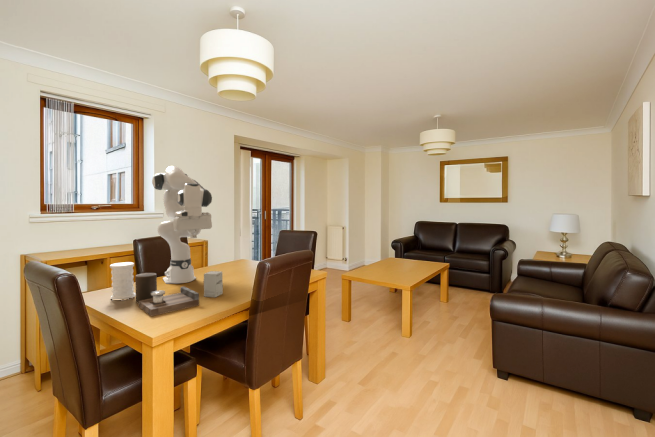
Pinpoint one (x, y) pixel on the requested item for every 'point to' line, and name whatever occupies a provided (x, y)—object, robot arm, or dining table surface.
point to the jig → (171, 302)
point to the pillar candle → (145, 286)
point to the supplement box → (213, 284)
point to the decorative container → (122, 280)
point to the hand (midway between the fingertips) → (193, 238)
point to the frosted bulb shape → (157, 296)
